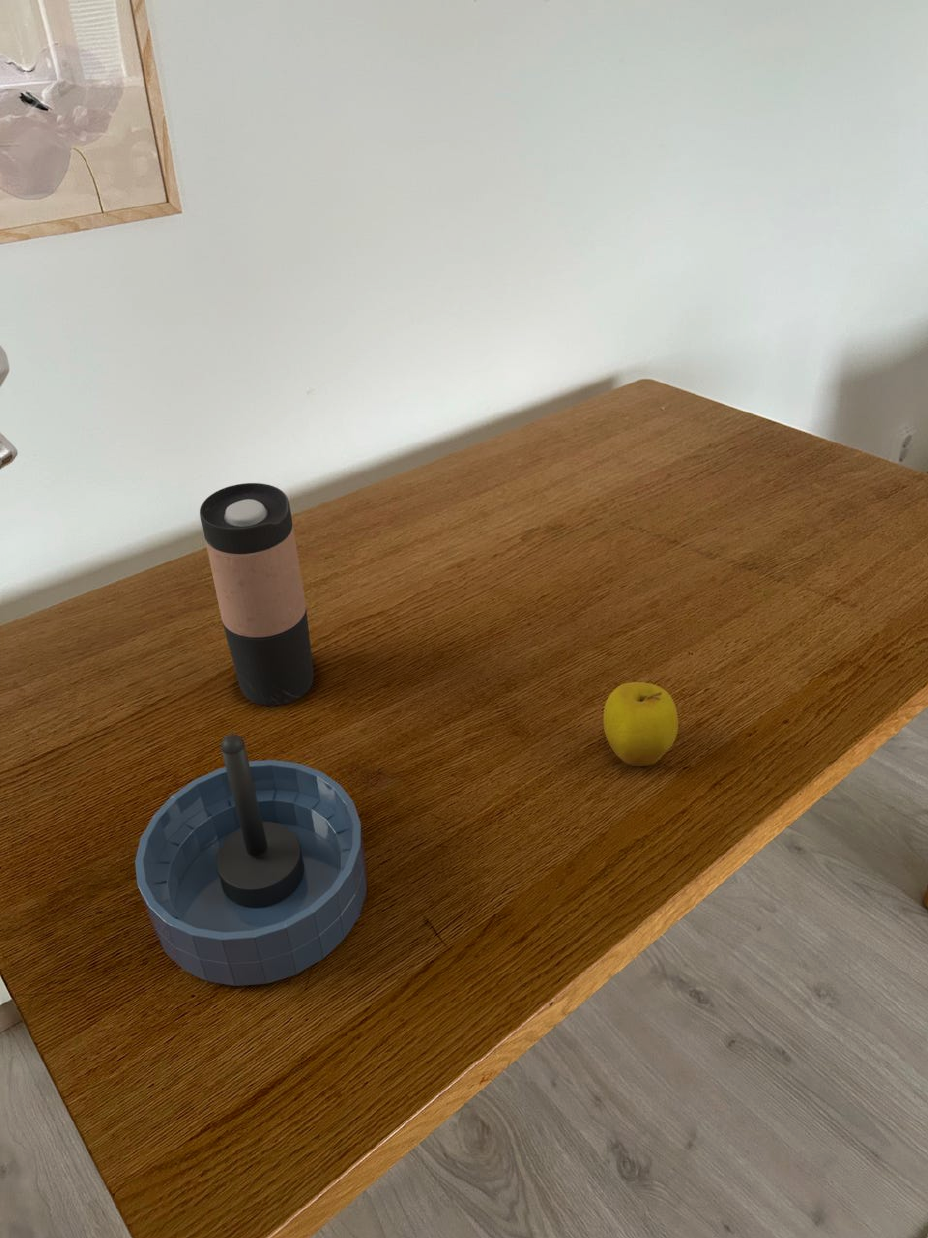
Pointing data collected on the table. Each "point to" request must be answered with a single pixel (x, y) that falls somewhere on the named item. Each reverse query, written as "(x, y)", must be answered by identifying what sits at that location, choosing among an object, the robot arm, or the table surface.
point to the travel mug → (259, 590)
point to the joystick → (255, 843)
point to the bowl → (240, 936)
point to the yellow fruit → (640, 722)
